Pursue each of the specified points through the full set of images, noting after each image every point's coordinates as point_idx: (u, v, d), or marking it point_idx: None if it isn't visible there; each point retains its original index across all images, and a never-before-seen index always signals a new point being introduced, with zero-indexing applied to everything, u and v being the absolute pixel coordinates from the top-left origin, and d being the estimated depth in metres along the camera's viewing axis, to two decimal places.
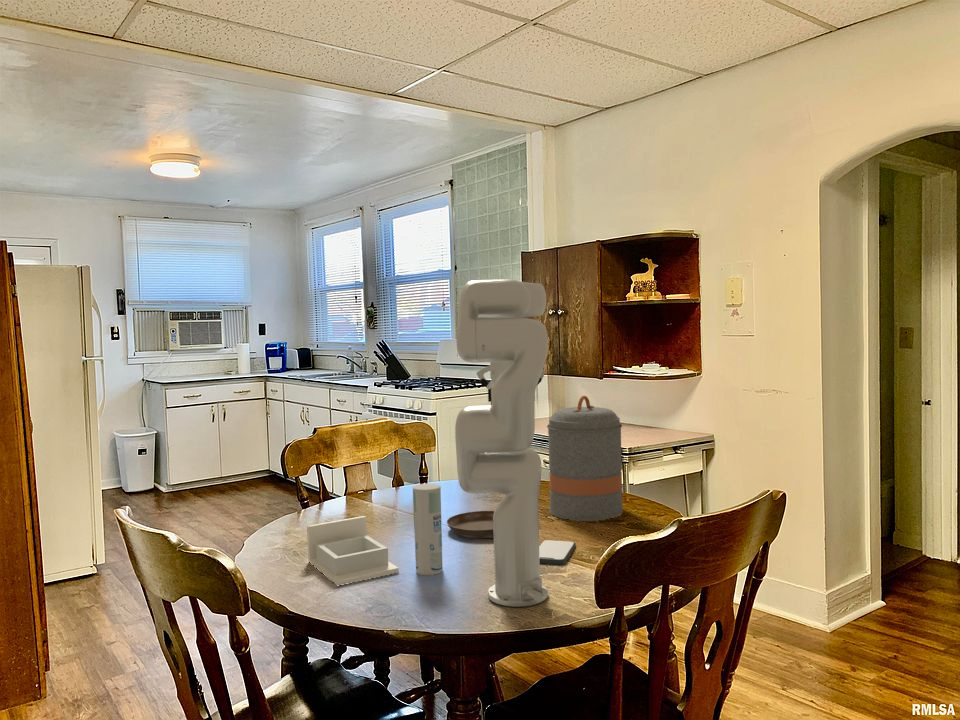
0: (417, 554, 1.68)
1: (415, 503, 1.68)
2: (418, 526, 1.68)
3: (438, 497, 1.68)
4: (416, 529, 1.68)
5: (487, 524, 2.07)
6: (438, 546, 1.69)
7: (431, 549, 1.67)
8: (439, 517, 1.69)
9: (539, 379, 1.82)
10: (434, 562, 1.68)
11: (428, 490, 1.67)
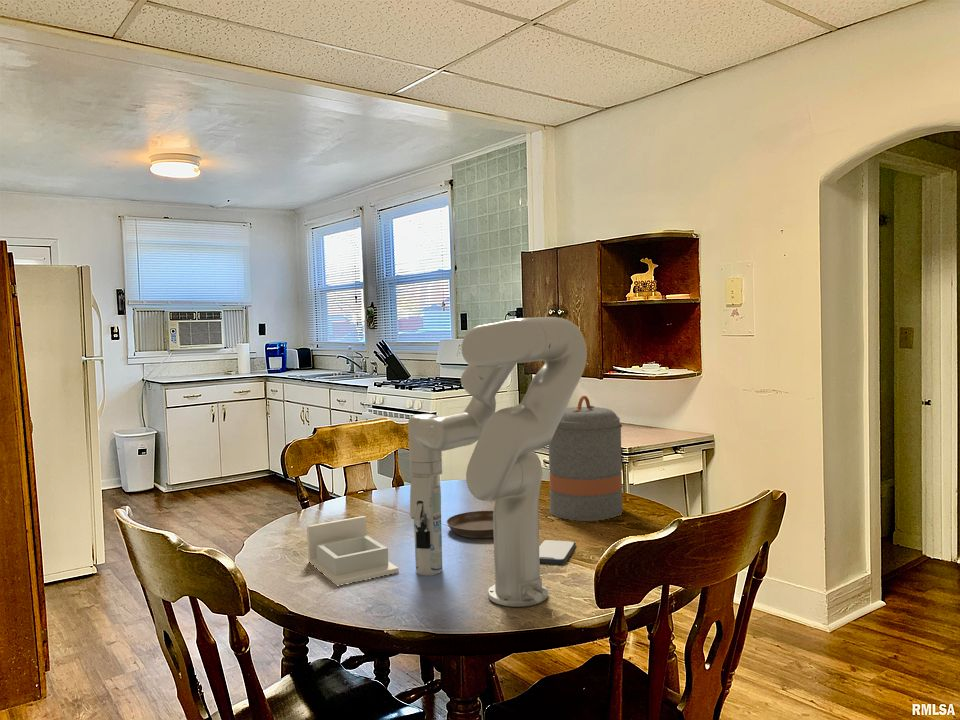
0: (417, 554, 1.68)
1: None
2: None
3: (438, 497, 1.68)
4: None
5: (487, 524, 2.07)
6: (438, 546, 1.69)
7: (431, 549, 1.67)
8: (439, 517, 1.69)
9: None
10: (434, 562, 1.68)
11: None
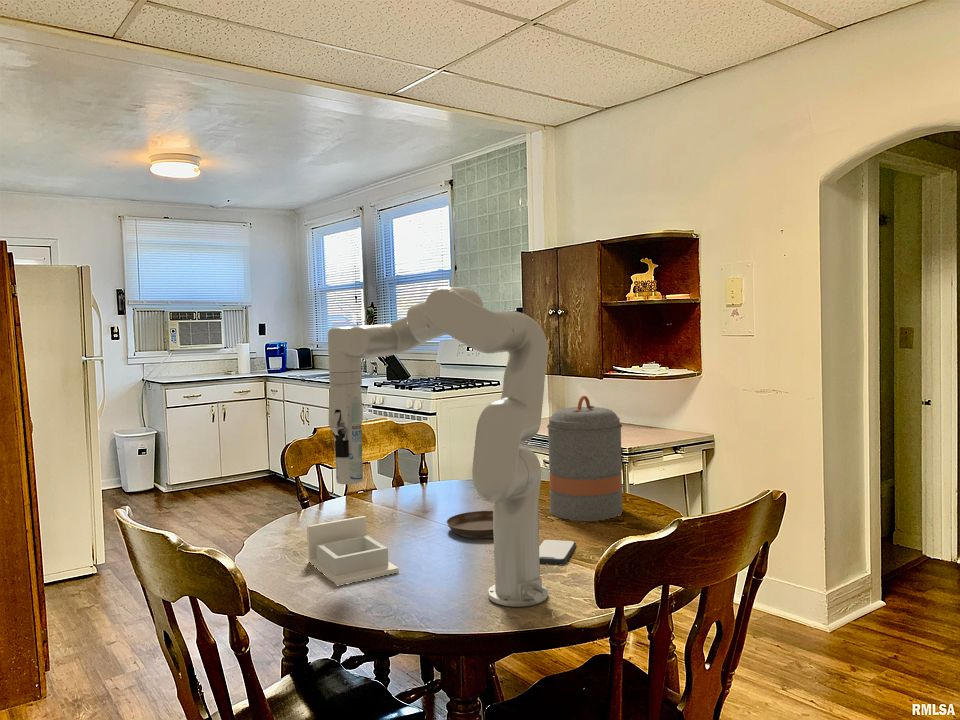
0: (337, 463, 1.71)
1: None
2: None
3: (357, 407, 1.71)
4: None
5: (487, 524, 2.07)
6: (358, 456, 1.71)
7: (349, 458, 1.70)
8: (358, 427, 1.71)
9: (333, 432, 1.67)
10: (353, 471, 1.71)
11: None
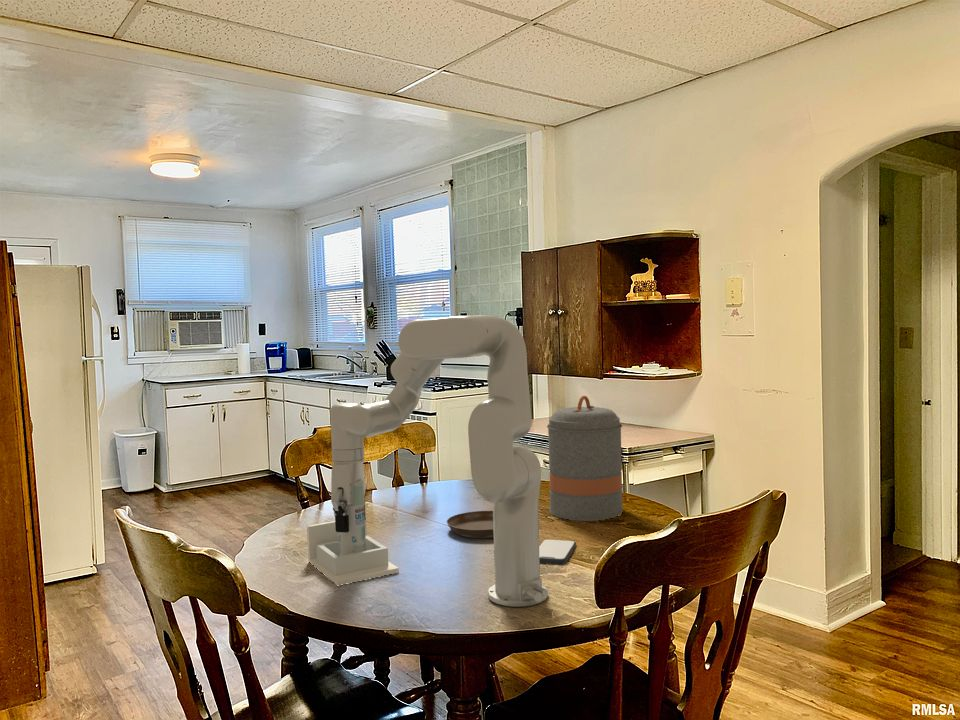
0: (340, 546, 1.72)
1: None
2: None
3: (360, 490, 1.72)
4: None
5: (487, 524, 2.07)
6: (361, 538, 1.72)
7: (353, 541, 1.71)
8: (361, 510, 1.72)
9: None
10: None
11: None
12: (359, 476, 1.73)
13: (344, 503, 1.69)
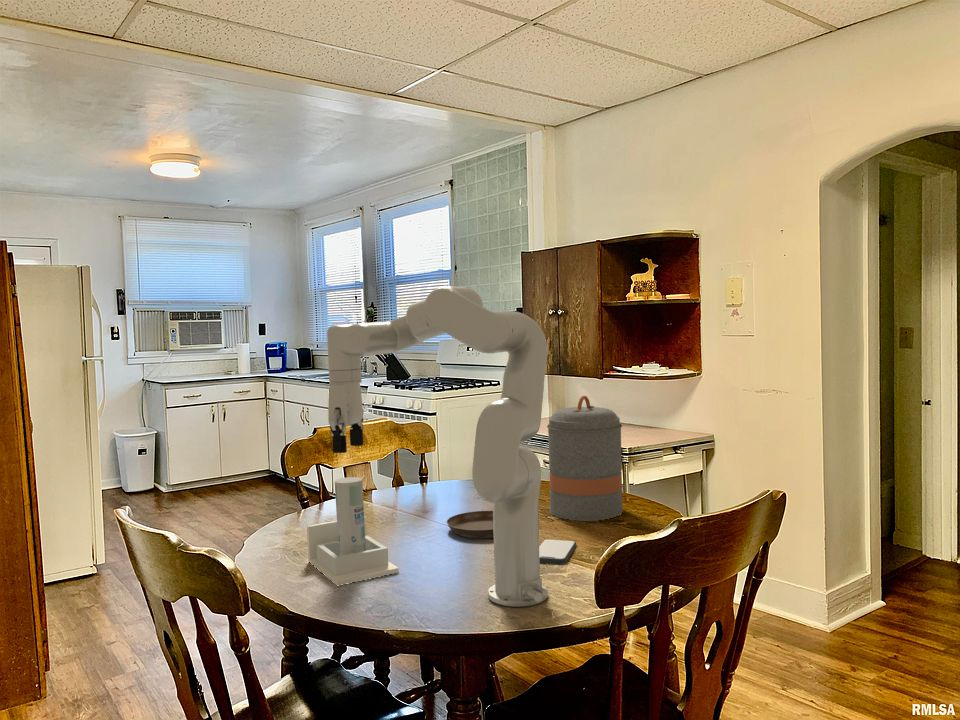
0: (340, 546, 1.72)
1: (337, 496, 1.72)
2: (340, 519, 1.71)
3: (359, 490, 1.72)
4: (338, 522, 1.72)
5: (487, 524, 2.07)
6: (360, 538, 1.72)
7: (352, 541, 1.71)
8: (361, 510, 1.72)
9: (330, 427, 1.66)
10: None
11: (348, 483, 1.70)
12: (356, 398, 1.72)
13: (341, 423, 1.68)
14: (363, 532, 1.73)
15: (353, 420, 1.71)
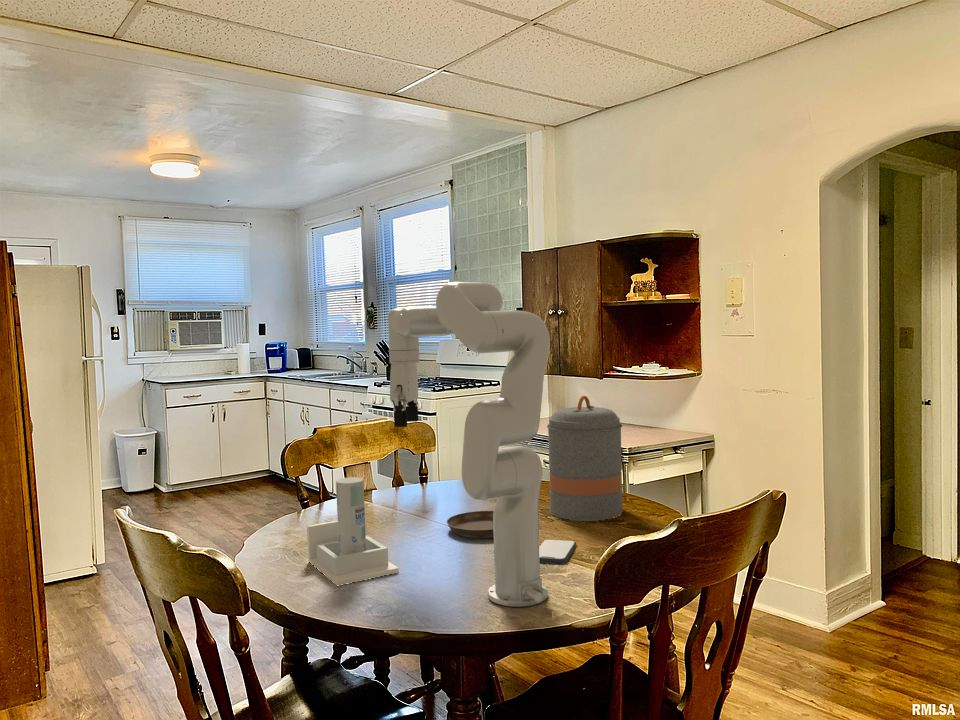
0: (340, 546, 1.72)
1: (338, 496, 1.72)
2: (341, 519, 1.71)
3: (360, 490, 1.72)
4: (339, 522, 1.72)
5: (487, 524, 2.07)
6: (361, 538, 1.72)
7: (353, 541, 1.71)
8: (362, 510, 1.72)
9: None
10: None
11: (350, 484, 1.70)
12: (414, 377, 1.85)
13: (402, 400, 1.81)
14: (364, 532, 1.73)
15: (412, 397, 1.84)
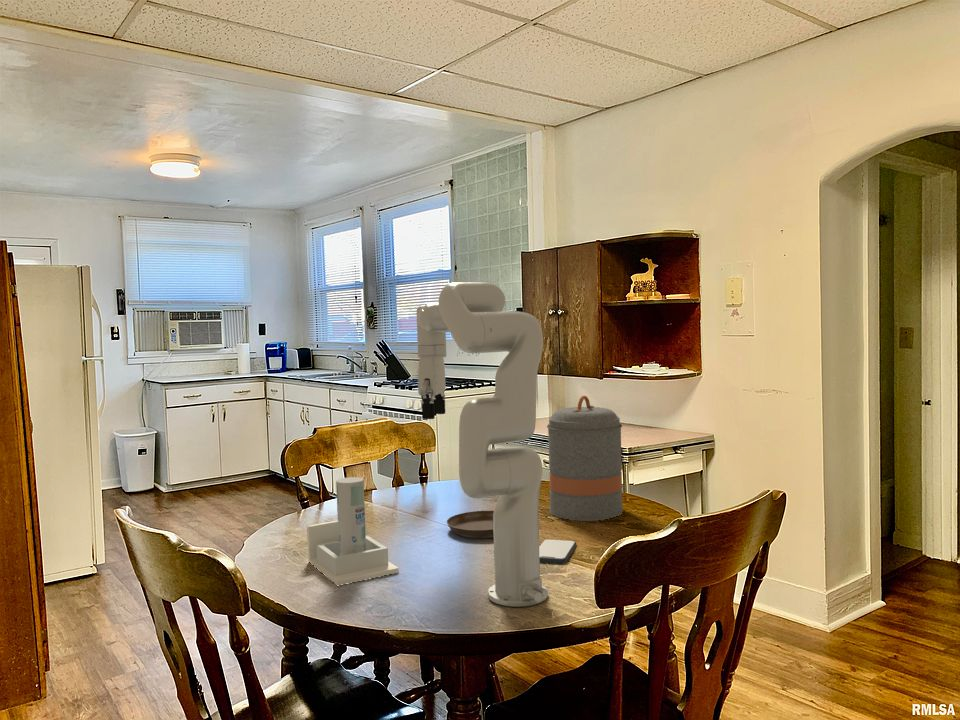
0: (340, 546, 1.72)
1: (338, 496, 1.72)
2: (341, 519, 1.71)
3: (360, 490, 1.72)
4: (339, 521, 1.72)
5: (487, 524, 2.07)
6: (361, 538, 1.72)
7: (353, 541, 1.71)
8: (362, 510, 1.73)
9: None
10: None
11: (350, 483, 1.70)
12: (442, 371, 1.92)
13: (430, 393, 1.88)
14: (364, 532, 1.73)
15: (439, 390, 1.91)
